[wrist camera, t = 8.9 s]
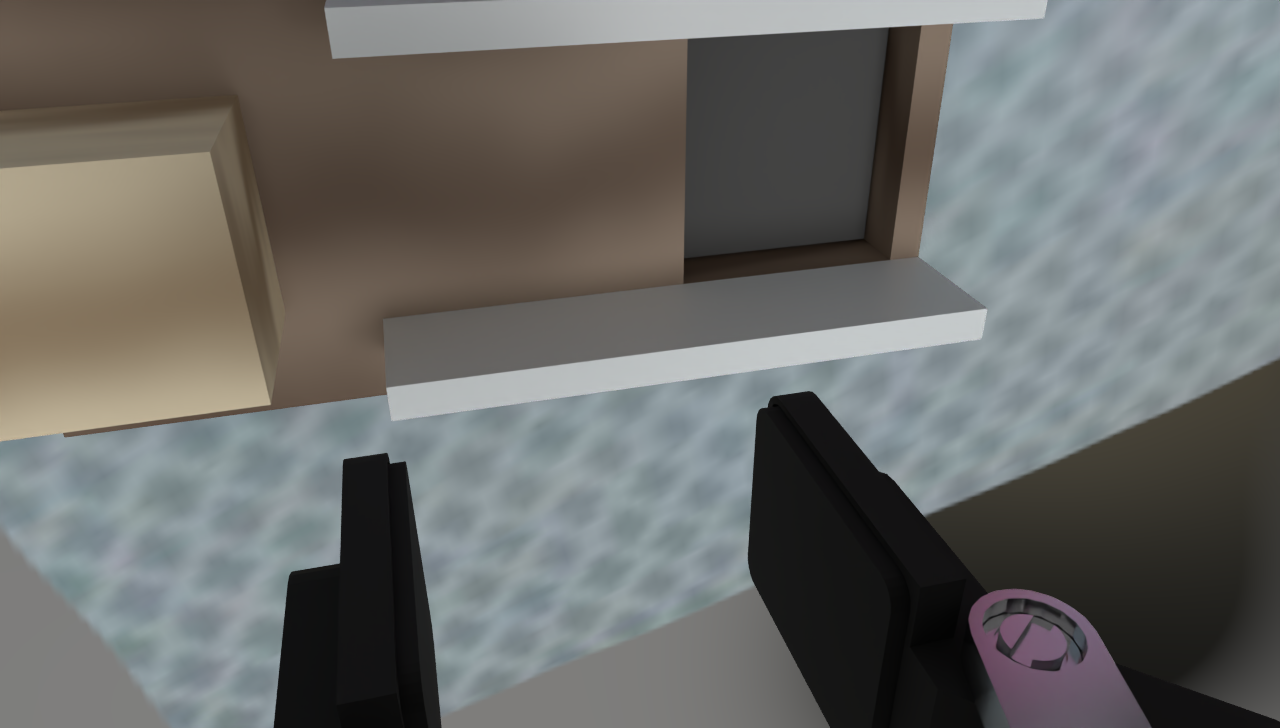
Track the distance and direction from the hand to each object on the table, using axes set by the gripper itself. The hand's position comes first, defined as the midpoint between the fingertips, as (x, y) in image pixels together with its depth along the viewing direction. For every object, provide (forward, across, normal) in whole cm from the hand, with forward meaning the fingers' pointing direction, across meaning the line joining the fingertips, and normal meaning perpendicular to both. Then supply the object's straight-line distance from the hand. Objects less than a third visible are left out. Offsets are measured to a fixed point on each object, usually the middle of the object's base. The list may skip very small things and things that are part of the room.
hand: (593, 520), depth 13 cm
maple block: (+15, +9, 0) cm, 18 cm away
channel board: (+17, -1, 0) cm, 17 cm away
